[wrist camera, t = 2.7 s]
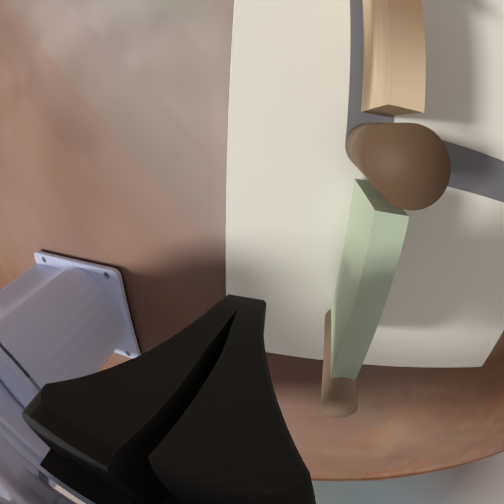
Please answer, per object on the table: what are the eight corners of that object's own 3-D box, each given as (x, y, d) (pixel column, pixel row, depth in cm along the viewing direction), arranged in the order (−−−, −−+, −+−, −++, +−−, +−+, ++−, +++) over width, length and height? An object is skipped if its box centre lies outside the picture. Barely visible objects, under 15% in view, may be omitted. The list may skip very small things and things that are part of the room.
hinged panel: (349, 177, 11) (374, 221, 6) (381, 183, 11) (427, 230, 6) (322, 326, 14) (316, 416, 9) (347, 329, 14) (351, 418, 9)
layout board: (228, 340, 17) (226, 345, 17) (242, -69, 7) (240, -73, 6) (480, 362, 14) (481, 366, 14) (545, 16, 4) (548, 15, 3)
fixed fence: (387, 173, 11) (441, 217, 6) (342, 165, 11) (365, 203, 6) (390, -28, 6) (423, -97, 1) (347, -36, 7) (356, -113, 2)
